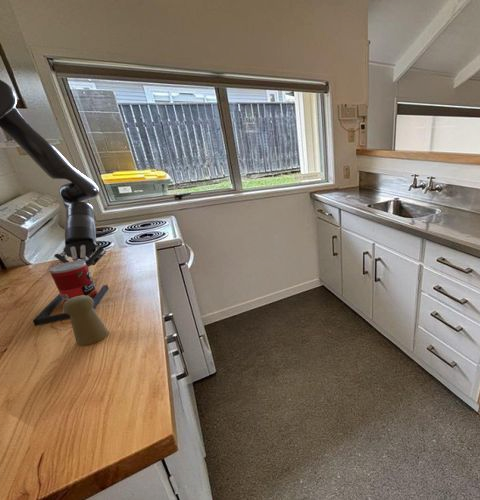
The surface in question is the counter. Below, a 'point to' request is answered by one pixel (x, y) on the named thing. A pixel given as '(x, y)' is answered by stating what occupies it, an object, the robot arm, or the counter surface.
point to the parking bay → (45, 318)
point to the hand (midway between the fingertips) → (81, 278)
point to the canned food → (73, 280)
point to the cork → (85, 320)
